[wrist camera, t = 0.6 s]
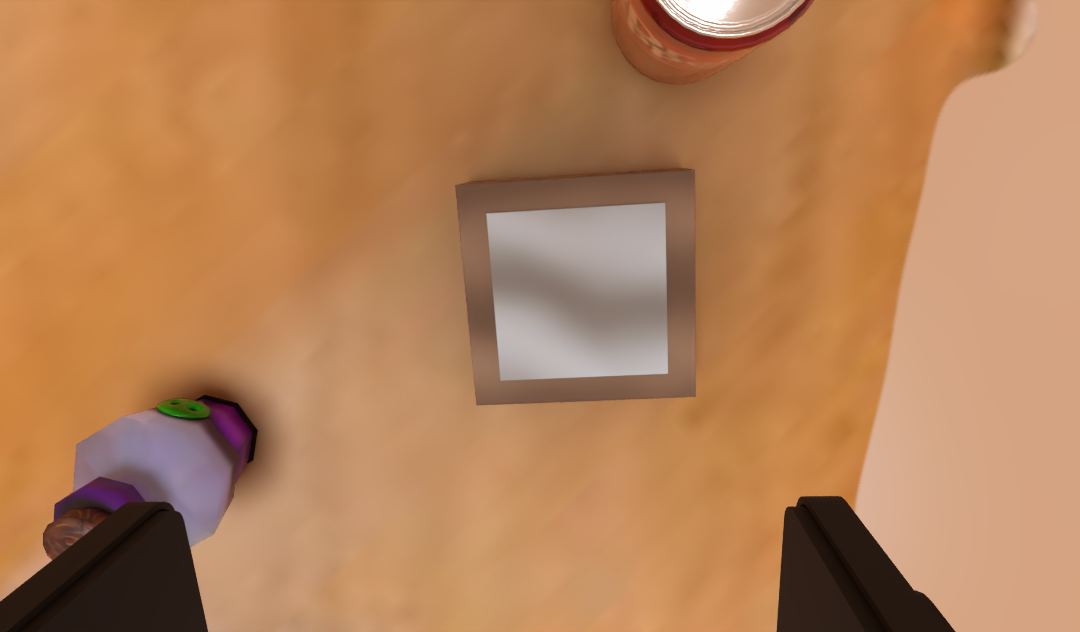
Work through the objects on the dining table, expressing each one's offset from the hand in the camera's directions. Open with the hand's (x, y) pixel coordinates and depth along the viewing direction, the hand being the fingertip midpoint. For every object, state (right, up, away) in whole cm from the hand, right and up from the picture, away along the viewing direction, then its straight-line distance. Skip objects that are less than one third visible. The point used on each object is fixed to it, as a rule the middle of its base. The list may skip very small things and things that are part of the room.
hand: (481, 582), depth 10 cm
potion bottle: (-20, -4, +31) cm, 37 cm away
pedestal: (+3, +6, +27) cm, 28 cm away
